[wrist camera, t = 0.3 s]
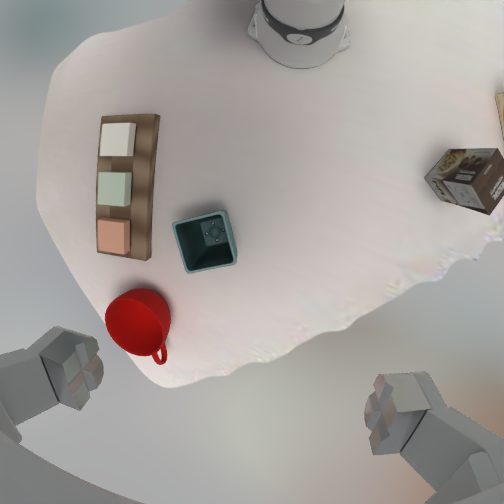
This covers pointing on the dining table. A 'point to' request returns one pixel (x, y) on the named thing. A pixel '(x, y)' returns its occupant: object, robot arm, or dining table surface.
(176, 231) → the flower pot
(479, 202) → the coffee box
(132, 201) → the button board
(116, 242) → the pink square block
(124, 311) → the ceramic cup
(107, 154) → the white square block
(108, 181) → the sage tile
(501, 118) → the coffeecake box
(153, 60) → the dining table surface
